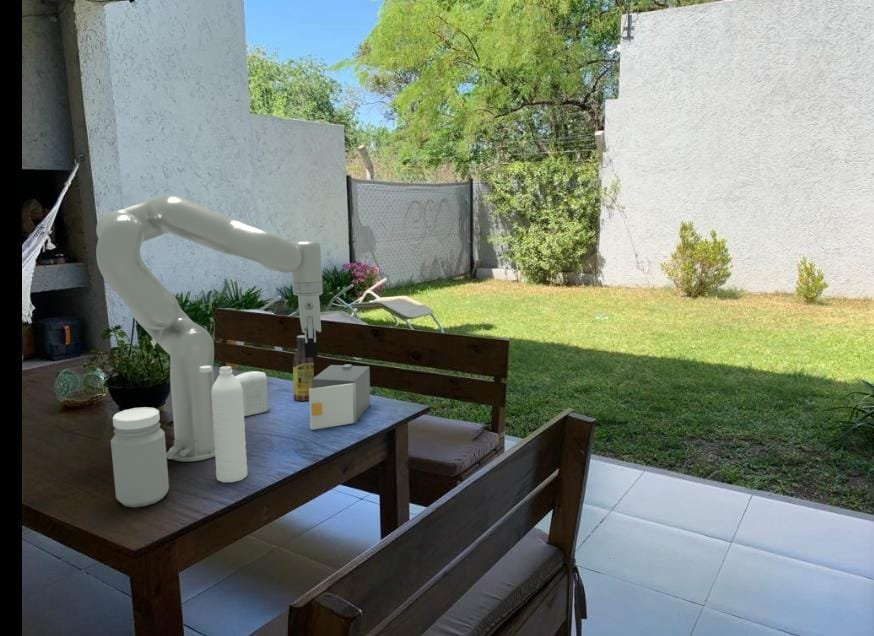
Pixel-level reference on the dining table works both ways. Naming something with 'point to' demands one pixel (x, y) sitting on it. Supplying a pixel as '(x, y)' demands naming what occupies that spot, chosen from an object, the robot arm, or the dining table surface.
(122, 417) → the jar
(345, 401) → the side door
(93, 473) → the dining table surface
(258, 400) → the photo printer
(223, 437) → the water bottle
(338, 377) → the gray box
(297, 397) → the sauce bottle
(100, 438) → the dining table surface
